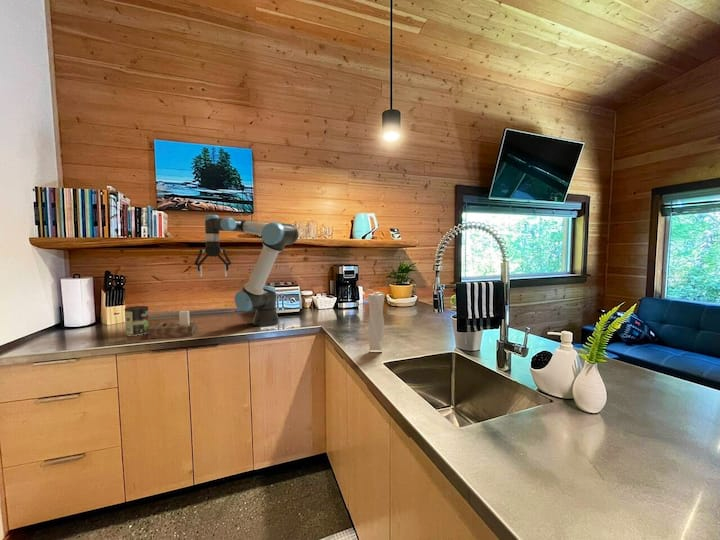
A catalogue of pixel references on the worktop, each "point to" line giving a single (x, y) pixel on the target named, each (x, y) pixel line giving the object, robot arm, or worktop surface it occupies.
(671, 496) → the worktop surface
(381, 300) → the skyscraper
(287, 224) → the robot arm
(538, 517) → the worktop surface
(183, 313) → the square peg
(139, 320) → the coffee can
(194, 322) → the socket block
